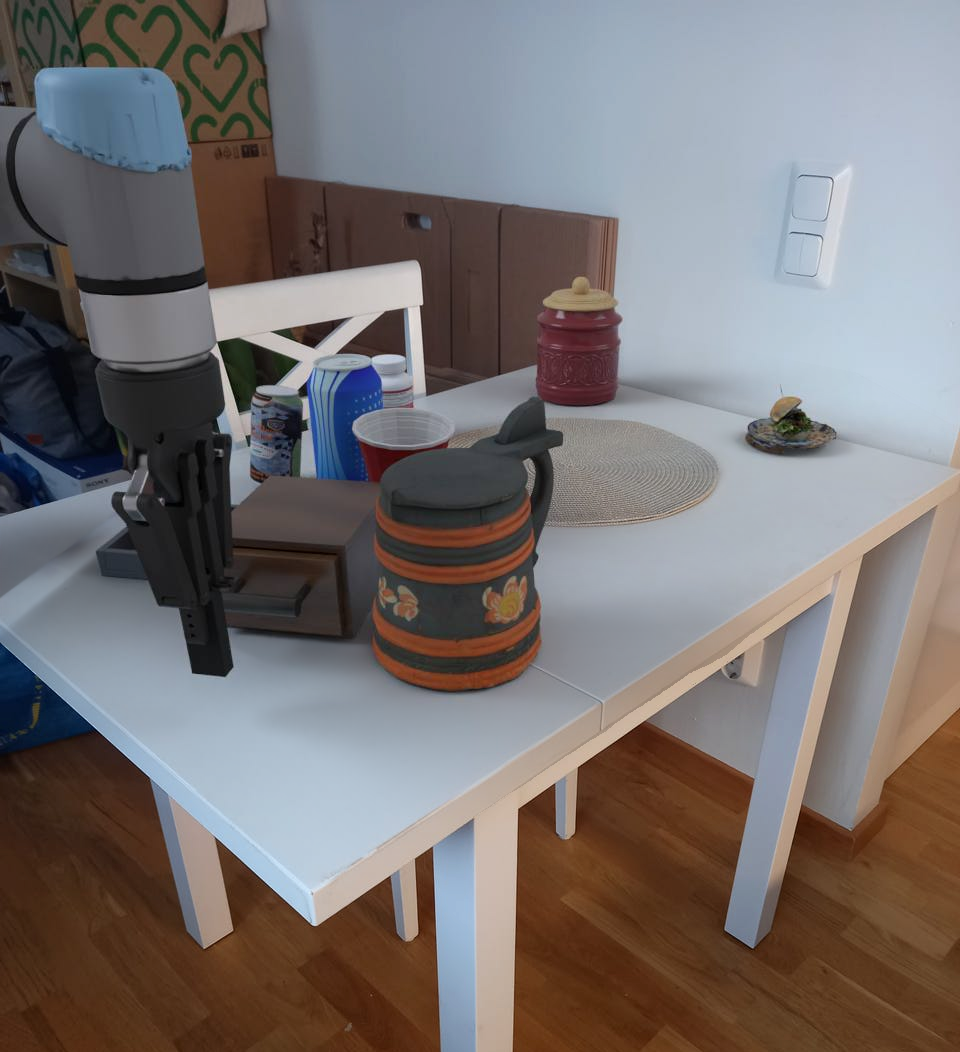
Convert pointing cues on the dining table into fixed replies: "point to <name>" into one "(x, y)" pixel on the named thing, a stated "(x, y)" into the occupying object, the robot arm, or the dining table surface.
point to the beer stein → (463, 557)
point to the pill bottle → (394, 381)
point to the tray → (122, 556)
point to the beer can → (341, 413)
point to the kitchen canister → (578, 346)
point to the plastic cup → (399, 436)
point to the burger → (788, 429)
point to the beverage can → (275, 432)
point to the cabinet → (318, 532)
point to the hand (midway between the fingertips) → (213, 669)
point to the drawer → (285, 591)
